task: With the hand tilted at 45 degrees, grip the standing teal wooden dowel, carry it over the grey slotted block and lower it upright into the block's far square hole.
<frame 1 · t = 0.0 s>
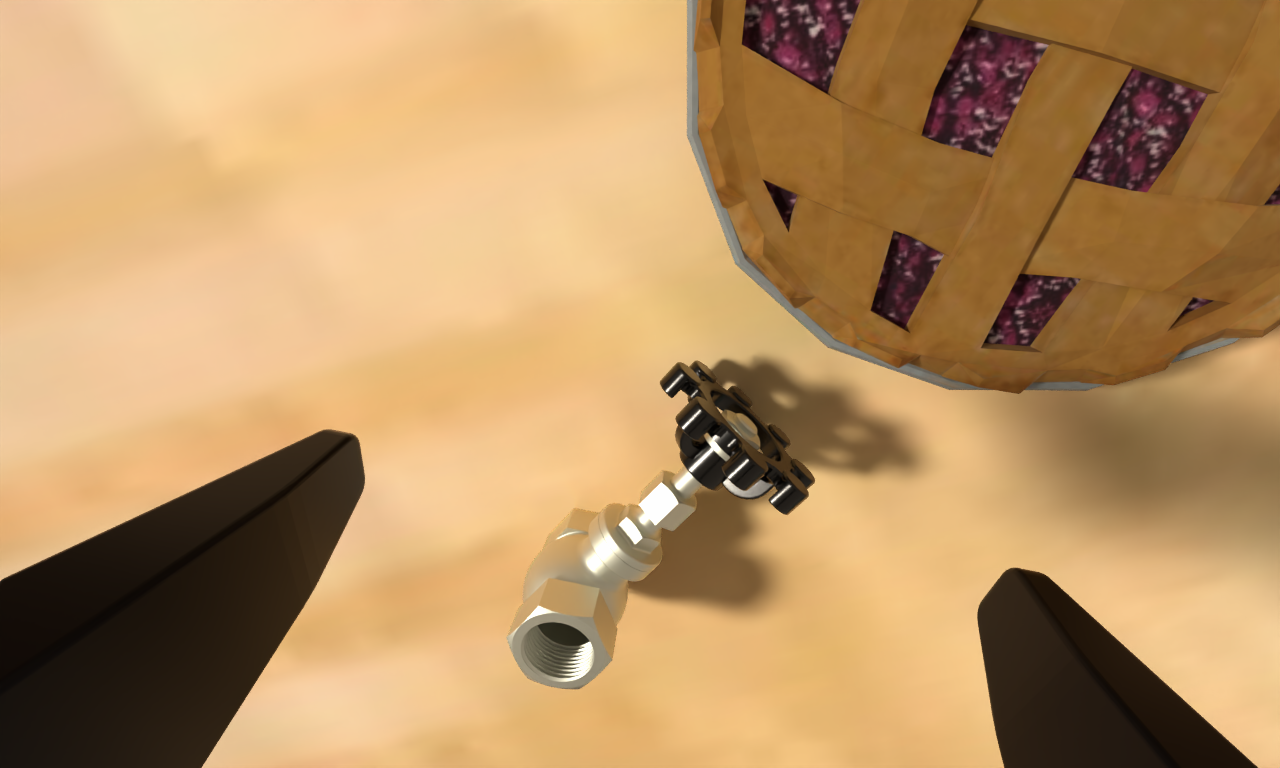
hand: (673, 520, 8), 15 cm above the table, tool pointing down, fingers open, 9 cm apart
pie: (1016, 48, 19), on the table
valve: (645, 484, 26), on the table
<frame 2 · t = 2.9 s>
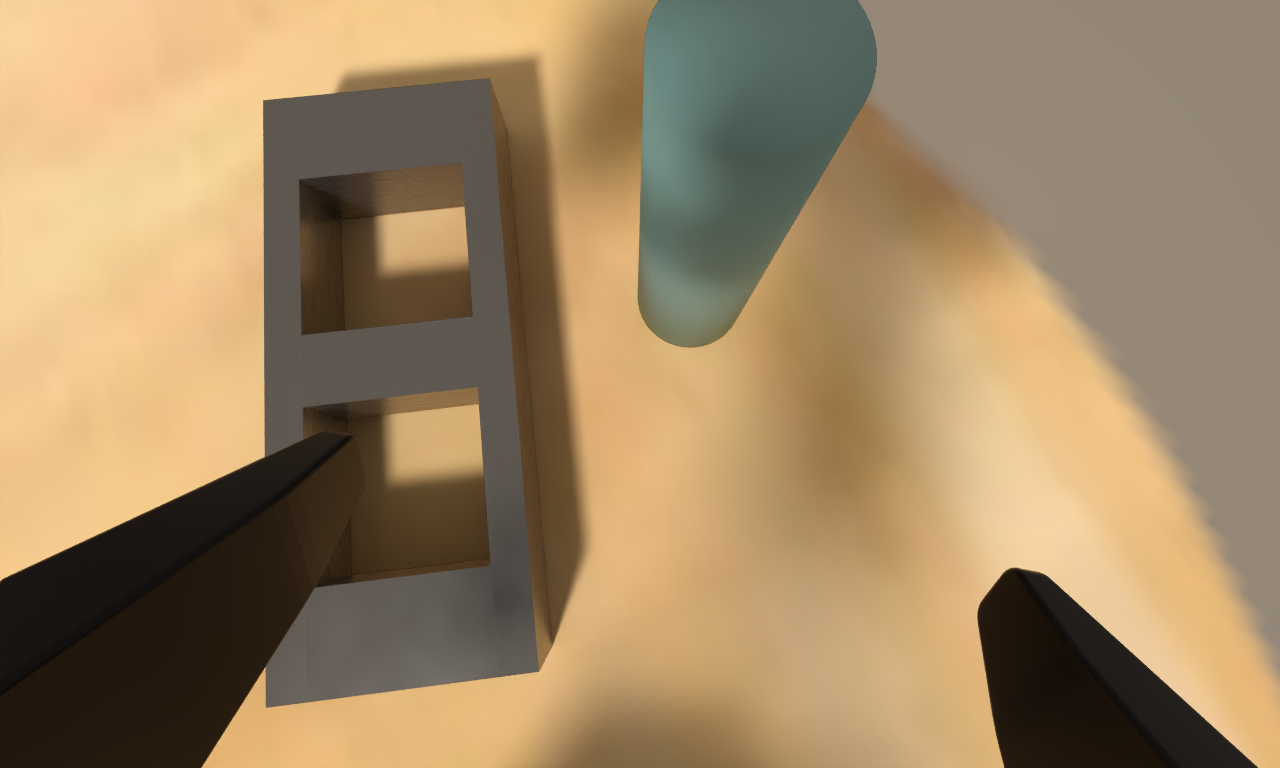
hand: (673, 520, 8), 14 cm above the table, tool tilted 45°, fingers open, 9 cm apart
grey slotted block: (415, 278, 23), on the table
dowel: (689, 297, 23), on the table
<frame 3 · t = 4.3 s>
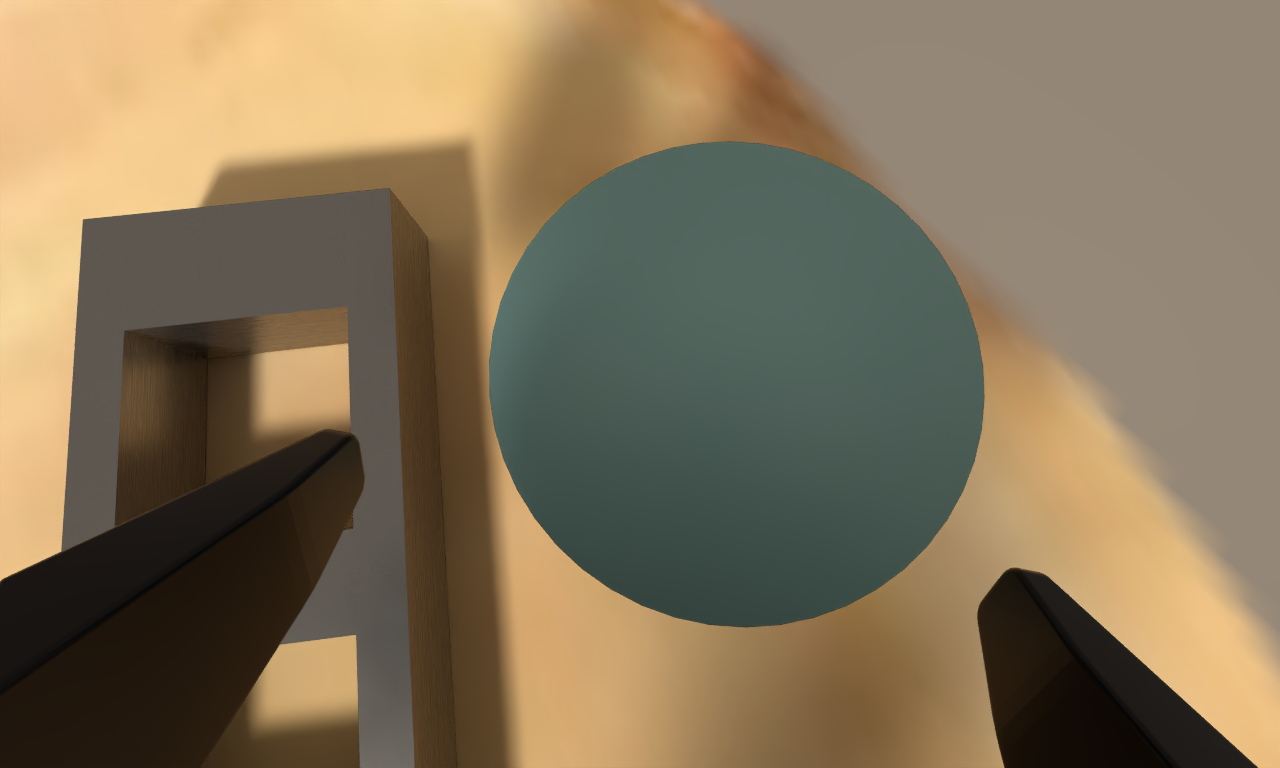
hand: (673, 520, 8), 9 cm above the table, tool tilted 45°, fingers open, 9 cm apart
grey slotted block: (301, 439, 18), on the table
dowel: (660, 463, 18), on the table
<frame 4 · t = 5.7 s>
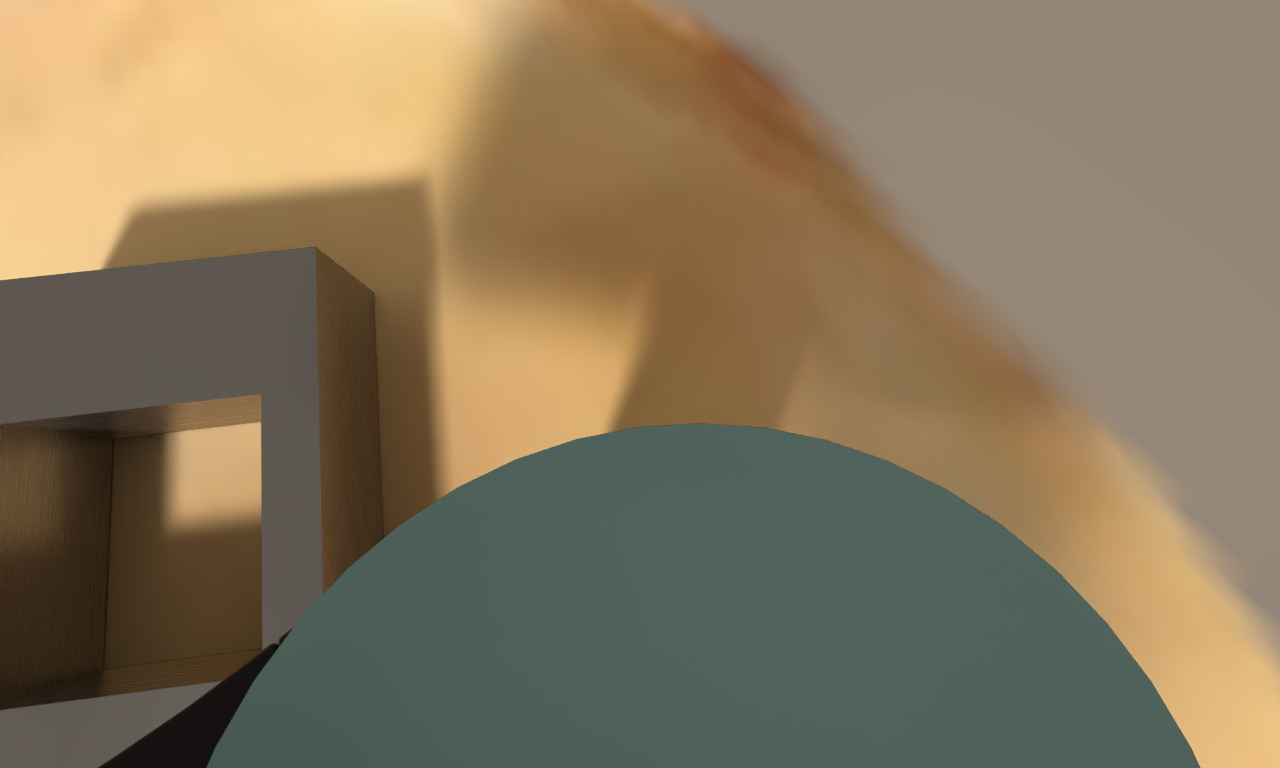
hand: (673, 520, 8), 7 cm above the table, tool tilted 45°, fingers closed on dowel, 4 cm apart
grey slotted block: (222, 536, 15), on the table
dowel: (644, 564, 15), on the table, touching gripper
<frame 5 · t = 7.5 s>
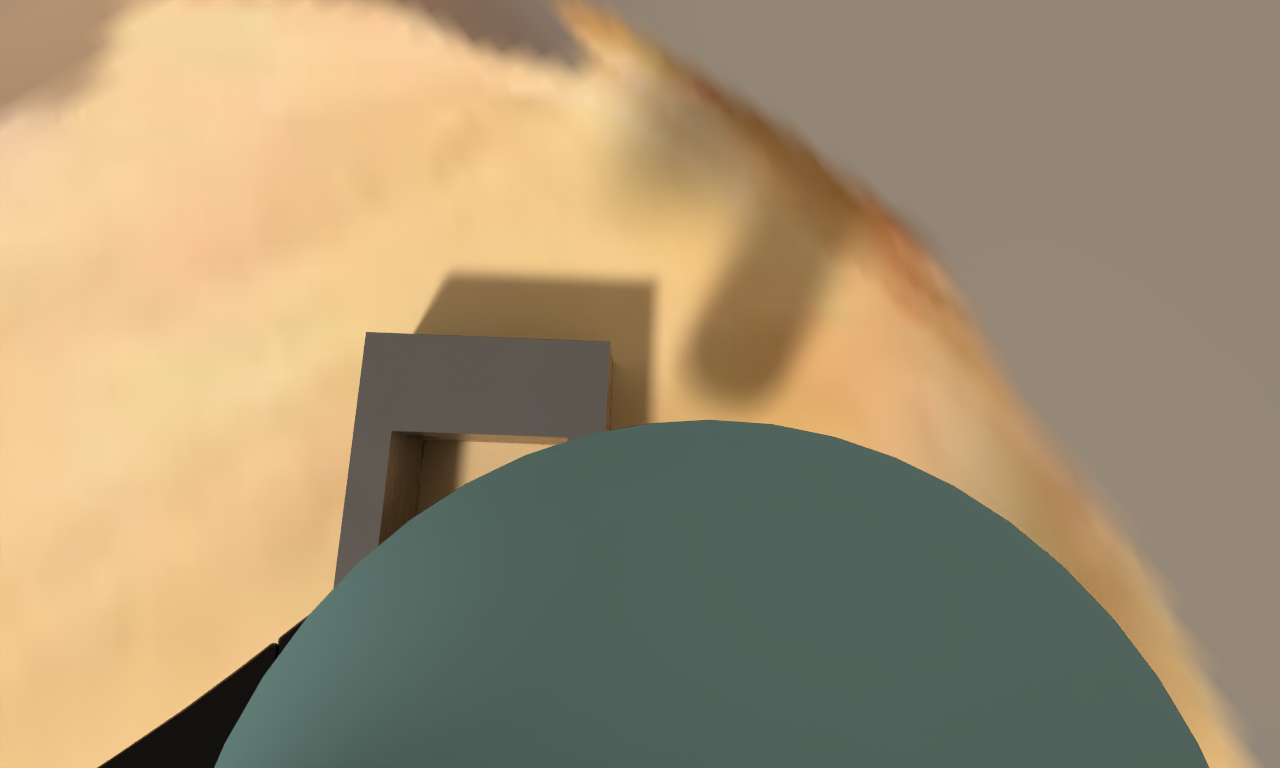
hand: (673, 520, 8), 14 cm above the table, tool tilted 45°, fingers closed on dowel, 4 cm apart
grey slotted block: (494, 520, 21), on the table
dowel: (645, 563, 15), point 6 cm above the table, touching gripper
when the fingers open (8 cm above the table, at t = 9.6 s): dowel stays where it is, resting in grey slotted block.
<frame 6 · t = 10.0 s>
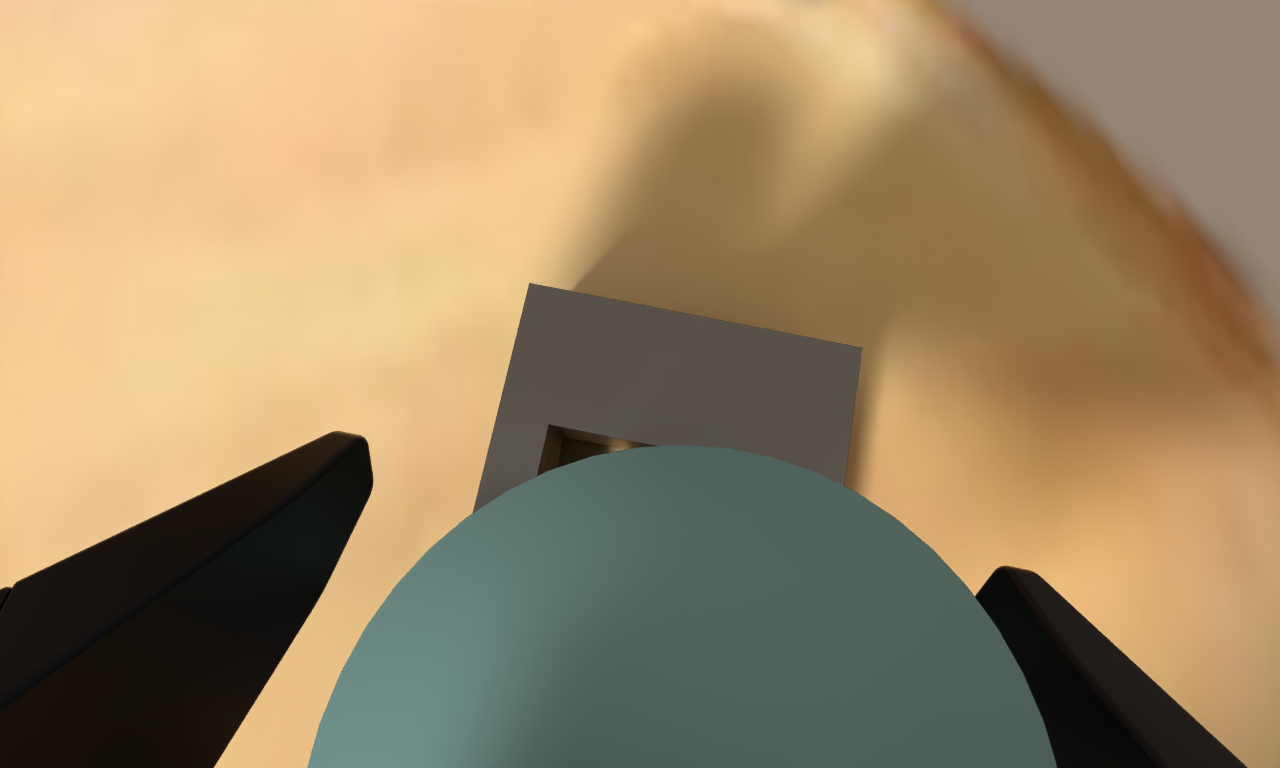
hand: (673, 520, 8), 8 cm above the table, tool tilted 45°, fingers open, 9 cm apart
grey slotted block: (643, 560, 16), on the table
dowel: (643, 560, 16), resting in grey slotted block
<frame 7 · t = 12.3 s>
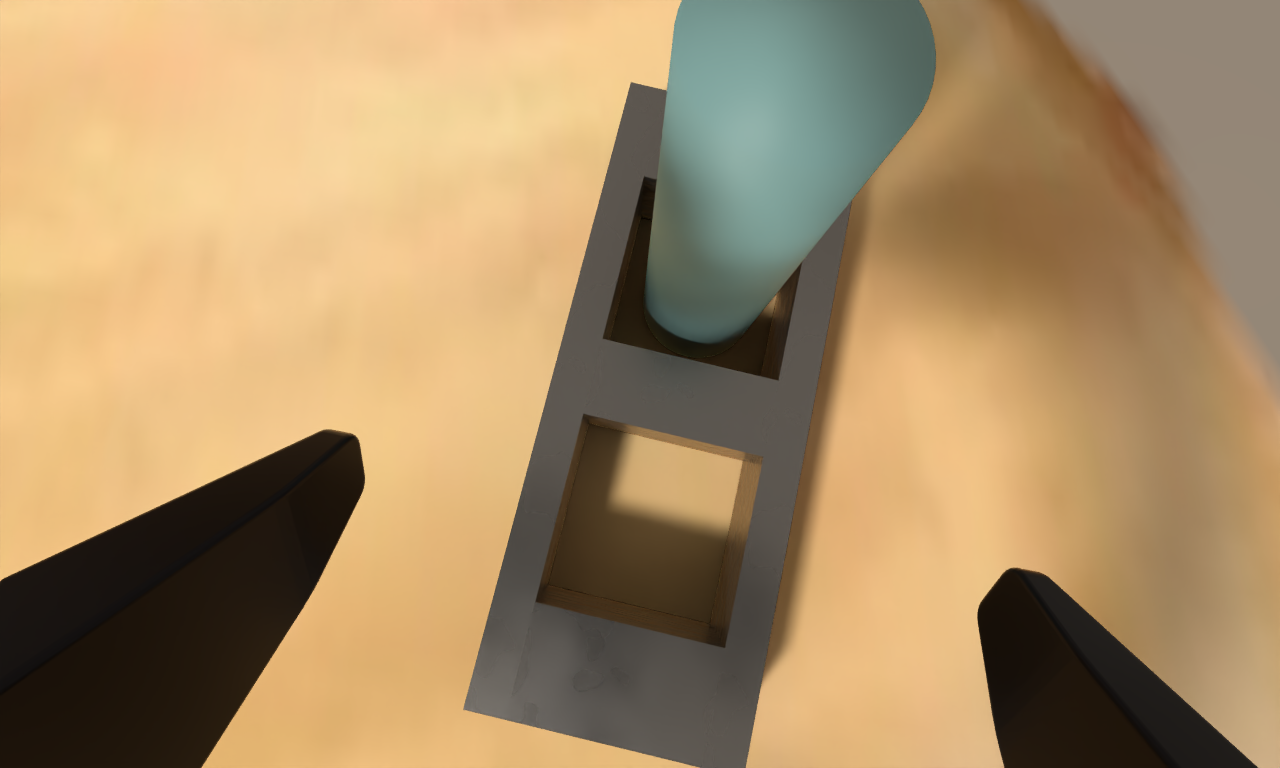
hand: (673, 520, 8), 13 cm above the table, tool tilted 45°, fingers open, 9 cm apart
grey slotted block: (697, 304, 22), on the table
dowel: (697, 304, 22), resting in grey slotted block
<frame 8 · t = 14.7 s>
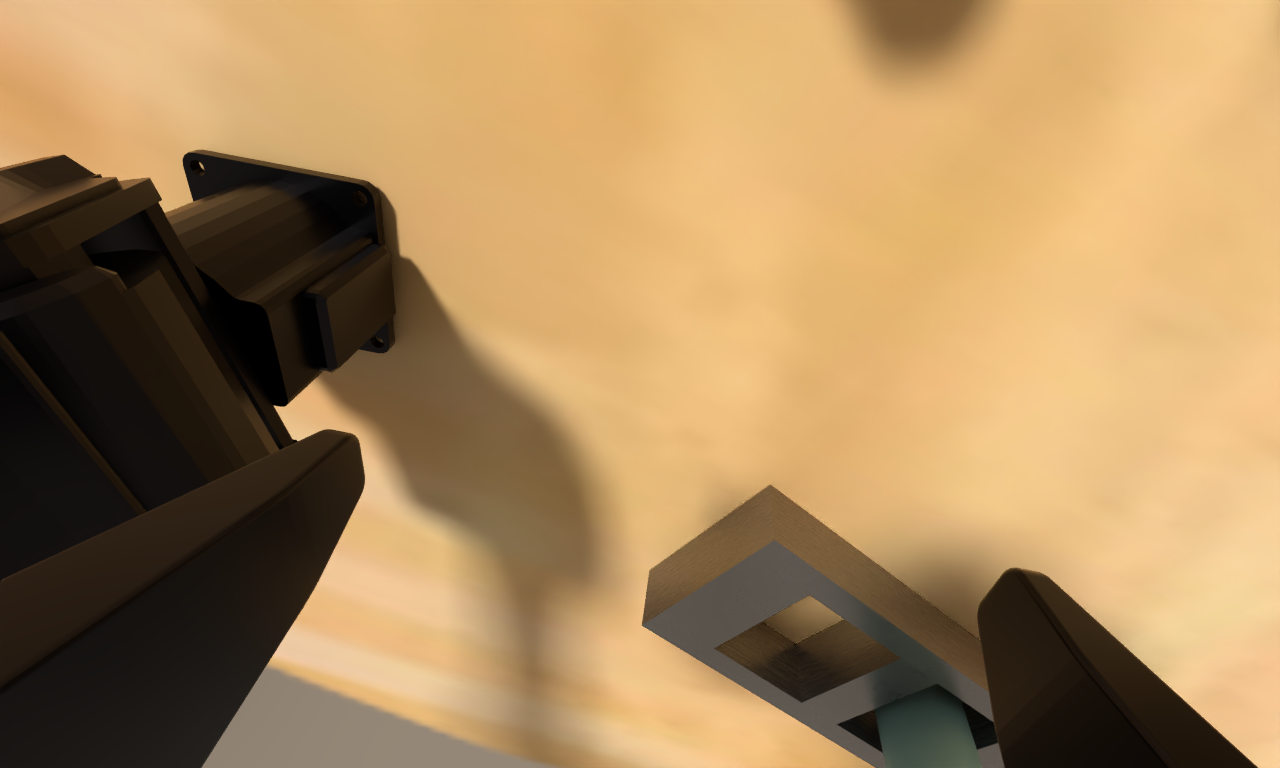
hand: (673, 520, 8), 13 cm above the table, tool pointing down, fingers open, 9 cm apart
grey slotted block: (908, 670, 30), on the table
dowel: (907, 669, 30), resting in grey slotted block
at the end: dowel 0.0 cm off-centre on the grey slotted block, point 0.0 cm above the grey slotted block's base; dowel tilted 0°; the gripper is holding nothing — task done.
